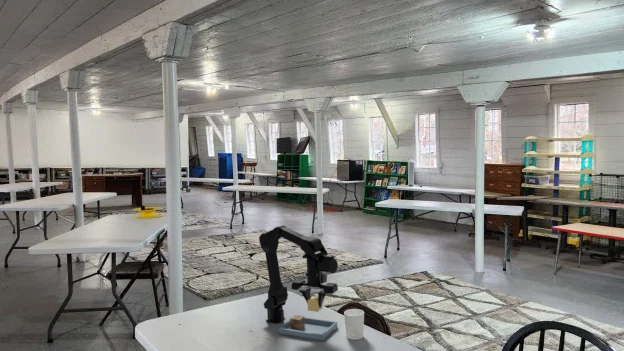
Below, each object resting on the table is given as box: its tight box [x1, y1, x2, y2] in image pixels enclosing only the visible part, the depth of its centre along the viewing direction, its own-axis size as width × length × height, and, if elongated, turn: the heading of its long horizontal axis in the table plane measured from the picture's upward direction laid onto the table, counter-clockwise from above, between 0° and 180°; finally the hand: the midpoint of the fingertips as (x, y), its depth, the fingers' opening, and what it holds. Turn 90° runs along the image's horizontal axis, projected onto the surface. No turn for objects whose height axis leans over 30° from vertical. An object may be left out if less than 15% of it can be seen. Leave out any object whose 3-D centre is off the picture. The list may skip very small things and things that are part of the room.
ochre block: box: [307, 295, 323, 313], centre depth 192 cm, size 4×4×4 cm
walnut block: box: [289, 314, 305, 331], centre depth 196 cm, size 4×4×4 cm
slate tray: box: [277, 316, 338, 343], centre depth 194 cm, size 20×15×2 cm
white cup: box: [343, 308, 365, 341], centre depth 187 cm, size 8×8×10 cm
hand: (315, 306), depth 192 cm, fingers closed on ochre block, 4 cm apart
